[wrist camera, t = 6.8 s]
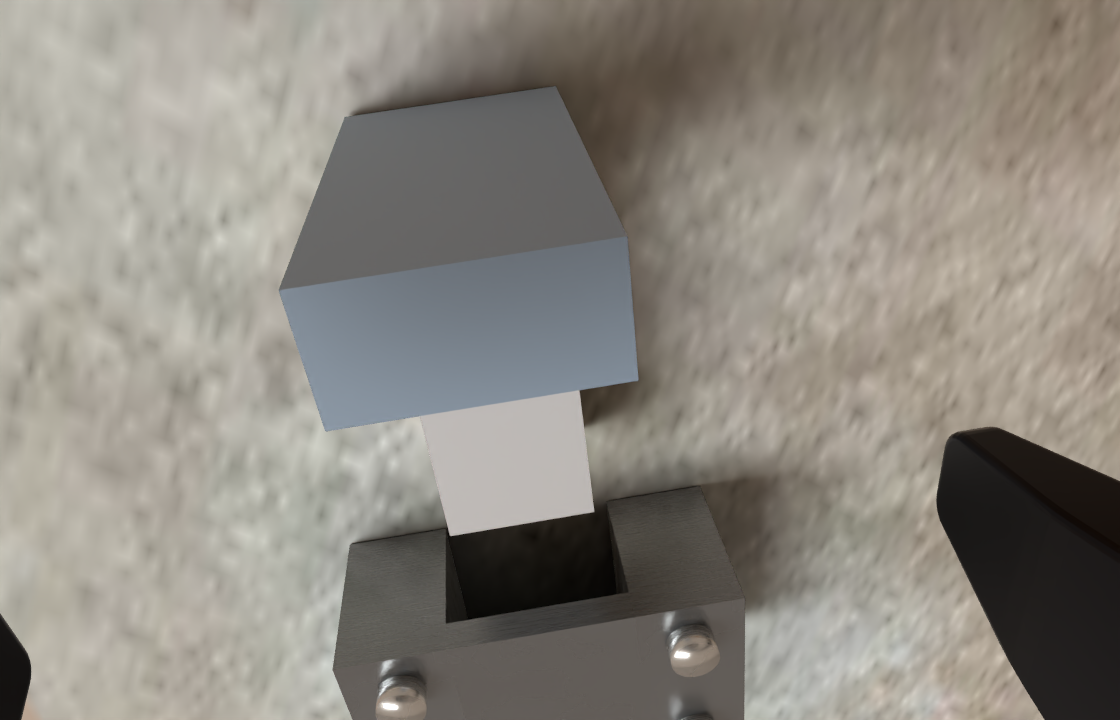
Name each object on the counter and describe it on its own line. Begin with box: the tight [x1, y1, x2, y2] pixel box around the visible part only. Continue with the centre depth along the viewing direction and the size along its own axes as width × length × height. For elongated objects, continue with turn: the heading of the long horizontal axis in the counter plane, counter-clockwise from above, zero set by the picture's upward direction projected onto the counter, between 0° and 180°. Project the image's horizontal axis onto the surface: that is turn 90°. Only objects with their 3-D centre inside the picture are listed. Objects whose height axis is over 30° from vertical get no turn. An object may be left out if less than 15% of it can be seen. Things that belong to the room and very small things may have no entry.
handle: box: [279, 86, 639, 536], centre depth 16 cm, size 4×9×8 cm, turn 7°
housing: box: [333, 486, 745, 720], centre depth 23 cm, size 10×6×5 cm, turn 97°
